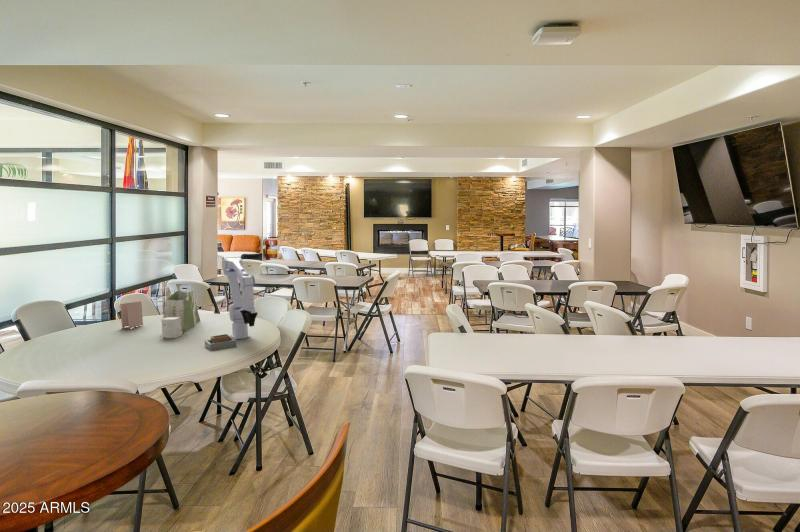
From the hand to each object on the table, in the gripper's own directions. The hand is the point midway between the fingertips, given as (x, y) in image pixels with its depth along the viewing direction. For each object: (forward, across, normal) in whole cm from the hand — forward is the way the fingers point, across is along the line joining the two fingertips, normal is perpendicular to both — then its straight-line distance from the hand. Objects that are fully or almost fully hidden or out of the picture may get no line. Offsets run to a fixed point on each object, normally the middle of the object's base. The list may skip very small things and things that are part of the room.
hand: (249, 324), depth 252 cm
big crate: (+9, -3, -14) cm, 17 cm away
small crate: (+9, -3, -14) cm, 17 cm away
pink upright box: (+10, -79, -44) cm, 91 cm away
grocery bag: (+10, -63, -20) cm, 66 cm away
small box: (+10, -40, -30) cm, 51 cm away
